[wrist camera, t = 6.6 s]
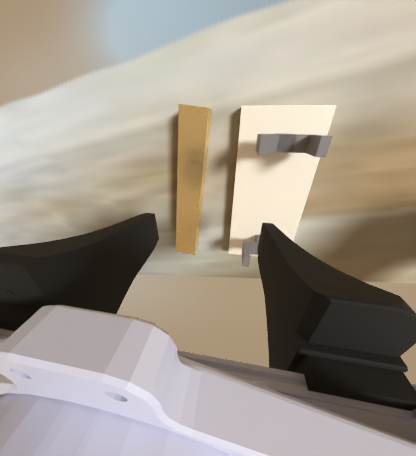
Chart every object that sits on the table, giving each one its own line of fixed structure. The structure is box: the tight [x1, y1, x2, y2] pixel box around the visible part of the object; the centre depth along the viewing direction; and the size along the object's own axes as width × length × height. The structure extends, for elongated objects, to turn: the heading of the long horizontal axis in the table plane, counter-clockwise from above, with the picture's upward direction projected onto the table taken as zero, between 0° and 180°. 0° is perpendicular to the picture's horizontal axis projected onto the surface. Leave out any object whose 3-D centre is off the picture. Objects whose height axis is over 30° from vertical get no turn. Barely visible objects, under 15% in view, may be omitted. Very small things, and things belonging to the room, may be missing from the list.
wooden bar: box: [176, 104, 212, 255], centre depth 18 cm, size 2×15×2 cm, turn 174°
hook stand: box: [229, 105, 337, 267], centre depth 16 cm, size 7×15×5 cm, turn 0°
